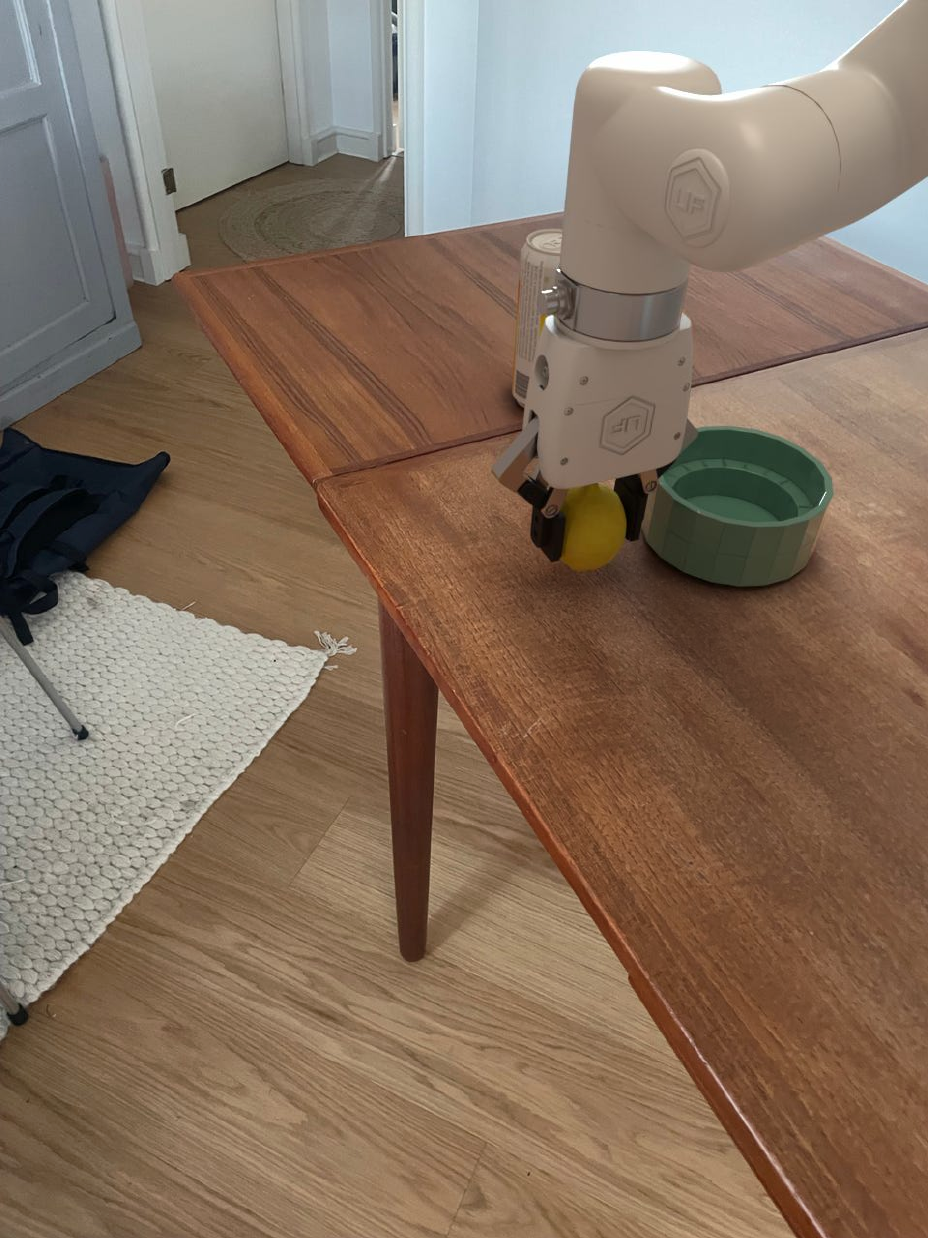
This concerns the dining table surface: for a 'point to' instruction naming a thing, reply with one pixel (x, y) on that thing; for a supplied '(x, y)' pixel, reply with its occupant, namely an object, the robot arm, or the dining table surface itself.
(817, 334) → the dining table surface
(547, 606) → the dining table surface
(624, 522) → the fruit
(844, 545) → the dining table surface
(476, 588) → the dining table surface
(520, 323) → the beer can
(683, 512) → the green pet bowl
